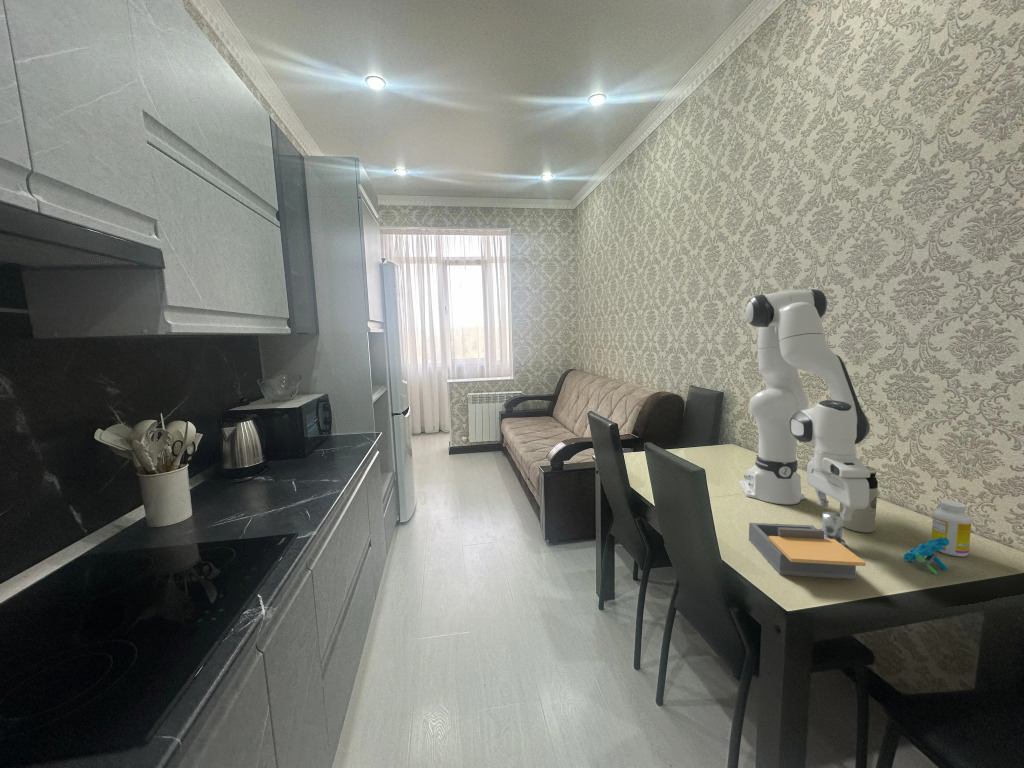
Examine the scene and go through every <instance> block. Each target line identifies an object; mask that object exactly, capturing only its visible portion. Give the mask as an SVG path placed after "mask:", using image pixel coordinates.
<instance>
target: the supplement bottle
mask: <svg viewBox="0 0 1024 768" xmlns="http://www.w3.org/2000/svg"><path fill="white" fill-rule="evenodd" d="M938 506H939V508H938V509H935V510H934V511H933V512H932V514H933V515H932V525H931V538H930V540H932V539H934V540H936V539H937V538H939V537H942V538H945V537H946V538H947V539H948V540H949V543H950V544H948V545H947V546H943V547H944V549H942V550H940V551H938V550H936V551H937V552H940V553H943V554H945V555H949V556H955V557H966V556H968V555H969V553H970V543H971V532H972V518H971V517H970V516H969V515H968V514H966V511H967V509H968V508H967V507H968V506H967V505H966V504H965V503H963V502H959V501H956V500H955V501H954V500H950V499H940V500H939V504H938Z"/></svg>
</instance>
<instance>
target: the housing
mask: <svg viewBox="0 0 1024 768" xmlns="http://www.w3.org/2000/svg"><path fill="white" fill-rule="evenodd" d="M748 525H749V527H748V541H749V542H750V543H751V544H752V545H753V547H755V548H756V550H757V551H758V552H759V554H761V555H762V557H764V558H765V560H766V561H767V563H769V565H770V566H771V567H772V568H773V569H774V570H775V571H776V572H777V574H778V575H784V576H798V577H815V578H828V579H829V578H830V579H831V578H832V579H843V578H844V580H845V578H846V579H847V580H856V572H857V571H856V569H857V568H856V567H857V566H854V565H837V564H820V563H802V562H791V561H790V560H789V559H788V558H787V557H786V556H785V555H784V554H783V553H782V552H781V551H780V550H779V549H778V548H777V547H776V546H775V545H774V544H773V543H772V542H771V541H770V540H769V539H768V537H769V536H778V527H785V528H807V529H818V528H817V527H816V526H814V525H813V524H812V525H811V524H810V525H809V524H790V523H789V524H786V523H770V522H769V523H765V522H749V523H748ZM824 539H830V538H829V537H827V536H826V535H825V534H824Z"/></svg>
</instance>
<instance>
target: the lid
mask: <svg viewBox="0 0 1024 768" xmlns="http://www.w3.org/2000/svg"><path fill="white" fill-rule="evenodd" d="M768 539H769V540H770V541H771V542H772V543H773V544H774V545H775V546H776V547H777V548H778V549H779V550H780V551H781V552H782V553H783V554H784V555H785V556H786V557H787V558H788V559H789V560H790V561H791V562H802V563H820V564H837V565H854V566H856V567H858V566H859V567H866V564H867V563H866V561H864V560H863V559H862V558H860V557H859V556H857V555H856V554H855V553H854V552H852V551H851V550H849V549H848V548H847V547H846V546H845V547H844V546H843V545H842V544H840V543H839V542H838V541H836V540H835V539H824V531H823V530H822V528H817V529H807V528H785V527H778V536H769V537H768Z"/></svg>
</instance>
